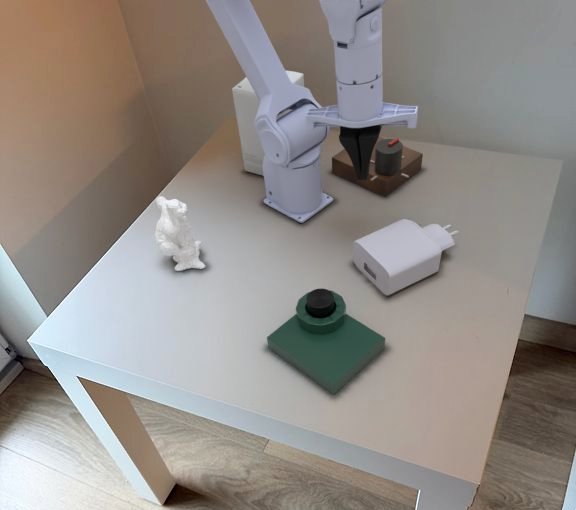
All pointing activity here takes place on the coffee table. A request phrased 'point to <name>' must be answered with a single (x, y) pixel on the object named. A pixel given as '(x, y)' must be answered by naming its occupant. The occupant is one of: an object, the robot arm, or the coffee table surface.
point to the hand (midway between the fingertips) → (363, 176)
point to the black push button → (320, 303)
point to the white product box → (246, 116)
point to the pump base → (326, 344)
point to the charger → (401, 254)
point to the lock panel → (374, 180)
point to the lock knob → (388, 156)
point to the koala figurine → (176, 235)
